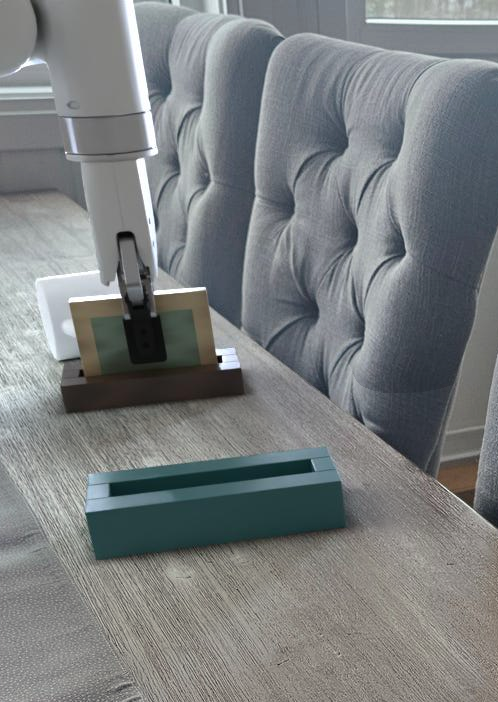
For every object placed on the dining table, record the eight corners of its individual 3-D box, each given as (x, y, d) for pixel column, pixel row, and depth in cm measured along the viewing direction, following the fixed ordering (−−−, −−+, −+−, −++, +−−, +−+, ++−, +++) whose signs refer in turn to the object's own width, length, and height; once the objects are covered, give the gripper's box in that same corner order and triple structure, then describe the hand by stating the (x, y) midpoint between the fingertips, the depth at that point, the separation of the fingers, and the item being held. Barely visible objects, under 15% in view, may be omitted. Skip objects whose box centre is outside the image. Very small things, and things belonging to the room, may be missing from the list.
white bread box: (48, 350, 119) (30, 271, 114) (143, 335, 122) (128, 259, 118) (68, 380, 109) (49, 296, 105) (170, 363, 113) (155, 282, 109)
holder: (95, 560, 75) (84, 512, 74) (98, 519, 81) (87, 473, 79) (346, 527, 79) (341, 480, 77) (331, 489, 85) (326, 445, 83)
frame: (90, 401, 104) (68, 302, 99) (90, 397, 105) (69, 298, 100) (221, 387, 106) (206, 290, 101) (220, 383, 107) (205, 286, 103)
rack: (66, 413, 101) (59, 386, 100) (69, 390, 107) (63, 364, 105) (245, 394, 104) (241, 367, 103) (239, 372, 110) (235, 347, 109)
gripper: (67, 128, 100) (108, 332, 110) (57, 153, 86) (105, 384, 96) (153, 123, 102) (186, 324, 111) (157, 147, 88) (194, 375, 97)
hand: (148, 350), depth 103 cm, fingers open, 5 cm apart
